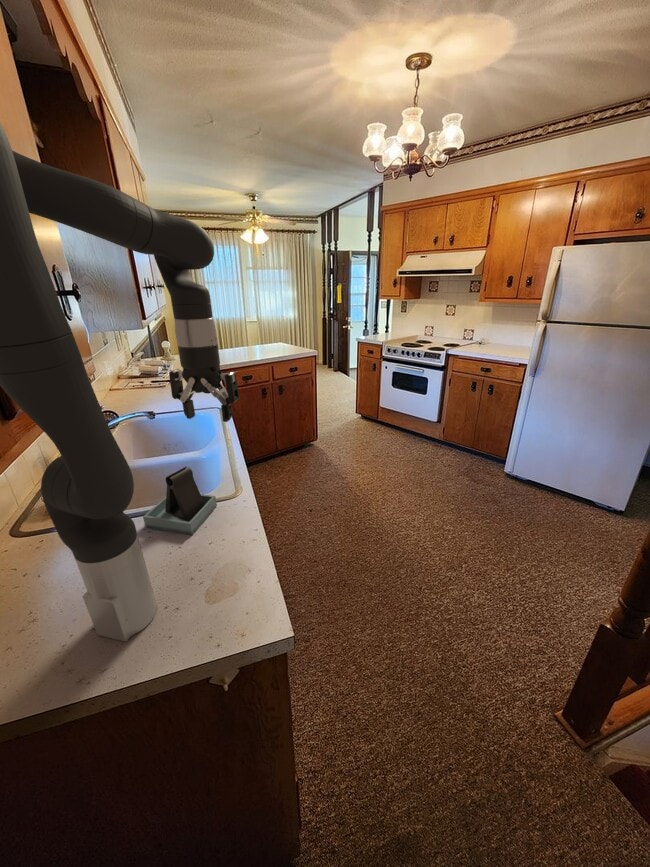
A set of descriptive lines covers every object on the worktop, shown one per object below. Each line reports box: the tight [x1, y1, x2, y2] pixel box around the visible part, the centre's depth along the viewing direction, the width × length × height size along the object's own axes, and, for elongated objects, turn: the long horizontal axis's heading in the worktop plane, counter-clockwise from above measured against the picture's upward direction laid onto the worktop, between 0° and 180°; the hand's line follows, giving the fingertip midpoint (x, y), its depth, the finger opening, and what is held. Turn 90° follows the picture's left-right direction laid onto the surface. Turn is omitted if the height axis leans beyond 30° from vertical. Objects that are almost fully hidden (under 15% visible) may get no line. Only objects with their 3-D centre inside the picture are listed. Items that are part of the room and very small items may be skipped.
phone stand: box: [164, 466, 205, 522], centre depth 91 cm, size 9×6×12 cm, turn 60°
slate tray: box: [142, 493, 218, 536], centre depth 92 cm, size 12×13×4 cm
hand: (209, 419), depth 75 cm, fingers open, 8 cm apart
